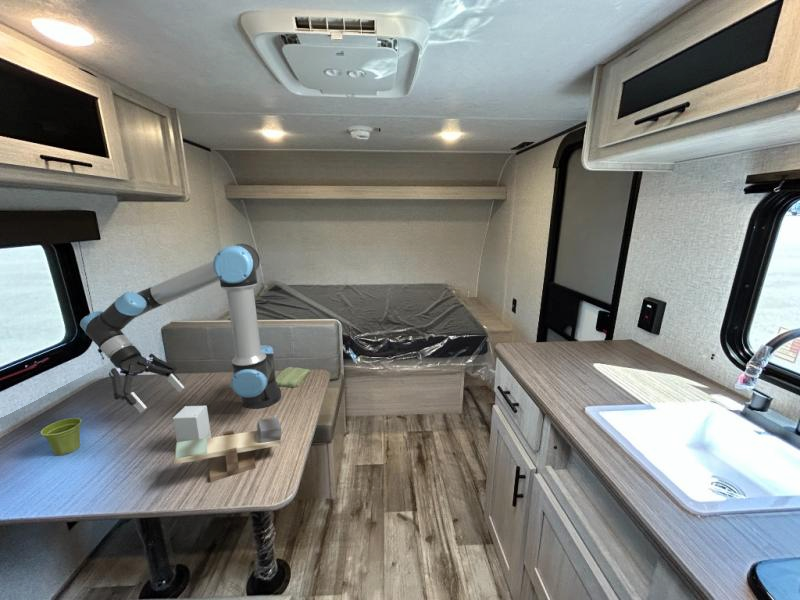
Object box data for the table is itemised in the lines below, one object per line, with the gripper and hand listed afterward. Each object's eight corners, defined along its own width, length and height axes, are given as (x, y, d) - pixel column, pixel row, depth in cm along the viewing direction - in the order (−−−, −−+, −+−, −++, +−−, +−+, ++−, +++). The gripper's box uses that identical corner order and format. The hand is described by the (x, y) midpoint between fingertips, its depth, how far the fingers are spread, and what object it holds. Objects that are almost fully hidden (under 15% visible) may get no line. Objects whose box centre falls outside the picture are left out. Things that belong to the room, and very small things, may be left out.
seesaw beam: (275, 431, 114) (276, 416, 113) (280, 445, 107) (281, 429, 107) (175, 447, 100) (176, 430, 99) (174, 464, 93) (174, 445, 92)
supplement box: (212, 438, 117) (207, 405, 114) (201, 452, 110) (196, 417, 107) (190, 438, 117) (185, 405, 114) (177, 453, 110) (171, 417, 107)
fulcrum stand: (250, 447, 113) (248, 425, 111) (255, 467, 103) (253, 444, 101) (209, 459, 107) (206, 436, 105) (210, 482, 97) (207, 457, 96)
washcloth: (311, 372, 170) (311, 366, 169) (297, 389, 152) (297, 382, 152) (286, 370, 171) (286, 365, 170) (269, 387, 154) (269, 381, 153)
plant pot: (66, 460, 106) (60, 435, 104) (38, 458, 106) (31, 434, 105) (94, 441, 115) (89, 418, 113) (68, 440, 116) (62, 417, 114)
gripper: (152, 345, 126) (190, 388, 125) (73, 374, 102) (120, 426, 102) (161, 333, 123) (200, 377, 123) (82, 359, 100) (130, 413, 99)
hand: (164, 399), depth 112 cm, fingers open, 13 cm apart
